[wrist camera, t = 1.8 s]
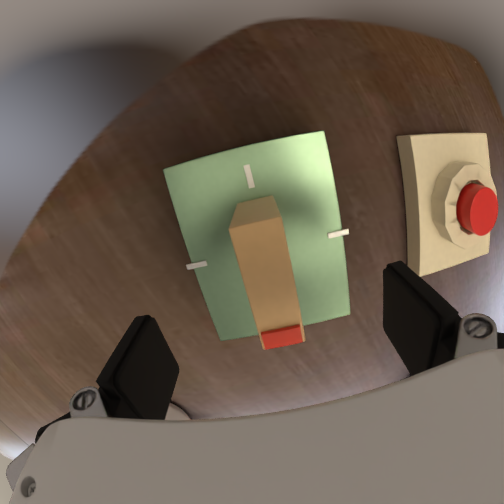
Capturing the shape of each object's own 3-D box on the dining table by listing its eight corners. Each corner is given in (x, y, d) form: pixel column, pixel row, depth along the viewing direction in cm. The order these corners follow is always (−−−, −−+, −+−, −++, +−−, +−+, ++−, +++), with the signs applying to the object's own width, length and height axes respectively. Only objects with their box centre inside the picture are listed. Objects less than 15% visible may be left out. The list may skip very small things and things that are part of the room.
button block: (395, 136, 17) (424, 135, 13) (470, 132, 16) (500, 134, 12) (407, 266, 21) (430, 287, 17) (475, 245, 20) (500, 260, 16)
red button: (454, 185, 15) (469, 190, 13) (483, 180, 14) (498, 185, 13) (455, 233, 16) (469, 240, 14) (483, 224, 15) (497, 231, 14)
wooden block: (236, 203, 16) (227, 230, 11) (273, 194, 16) (282, 217, 10) (261, 296, 18) (263, 353, 13) (293, 289, 18) (306, 344, 13)
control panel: (171, 167, 18) (156, 171, 15) (318, 132, 17) (330, 128, 14) (220, 320, 23) (215, 343, 20) (344, 293, 22) (355, 314, 19)
